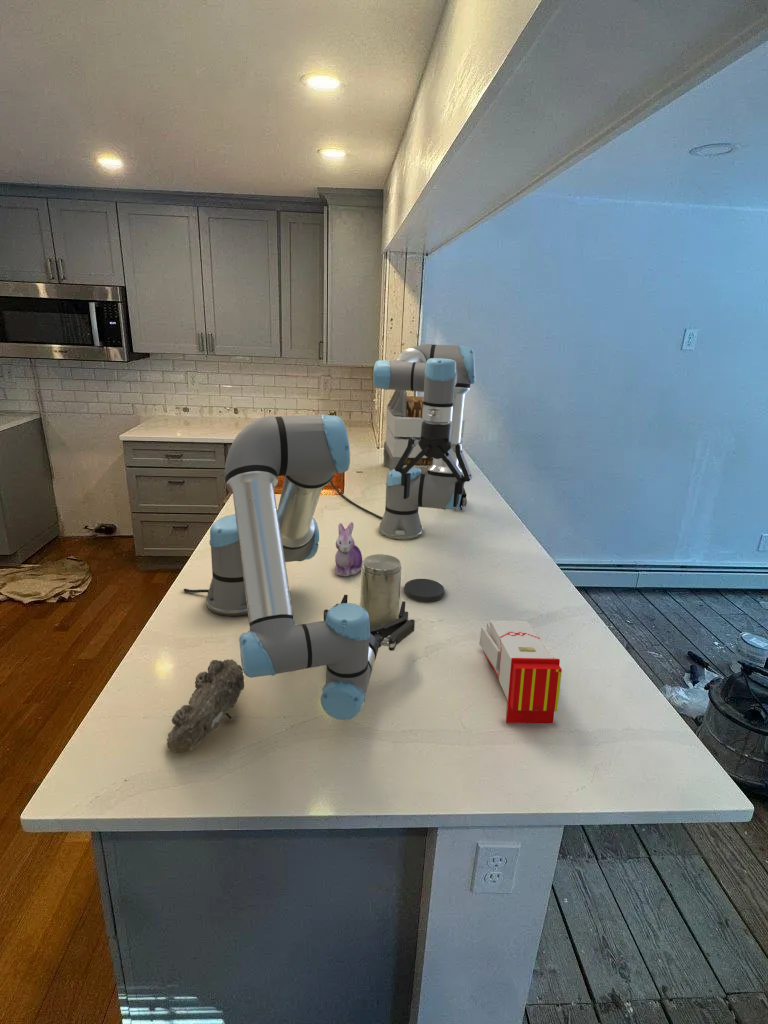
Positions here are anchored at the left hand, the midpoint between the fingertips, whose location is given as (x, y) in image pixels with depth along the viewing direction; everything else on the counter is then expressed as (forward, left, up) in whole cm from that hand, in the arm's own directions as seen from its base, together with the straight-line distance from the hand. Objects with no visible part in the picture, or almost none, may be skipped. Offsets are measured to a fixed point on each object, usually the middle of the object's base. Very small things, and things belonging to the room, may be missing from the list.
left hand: (374, 602), depth 132 cm
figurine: (-14, +36, -10) cm, 40 cm away
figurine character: (+17, +105, -10) cm, 106 cm away
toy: (+32, -9, -10) cm, 35 cm away
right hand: (+10, +27, +17) cm, 34 cm away
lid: (+10, +27, -9) cm, 30 cm away
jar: (0, +10, -10) cm, 14 cm away
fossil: (-26, -33, -10) cm, 43 cm away
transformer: (-2, +149, -10) cm, 150 cm away
